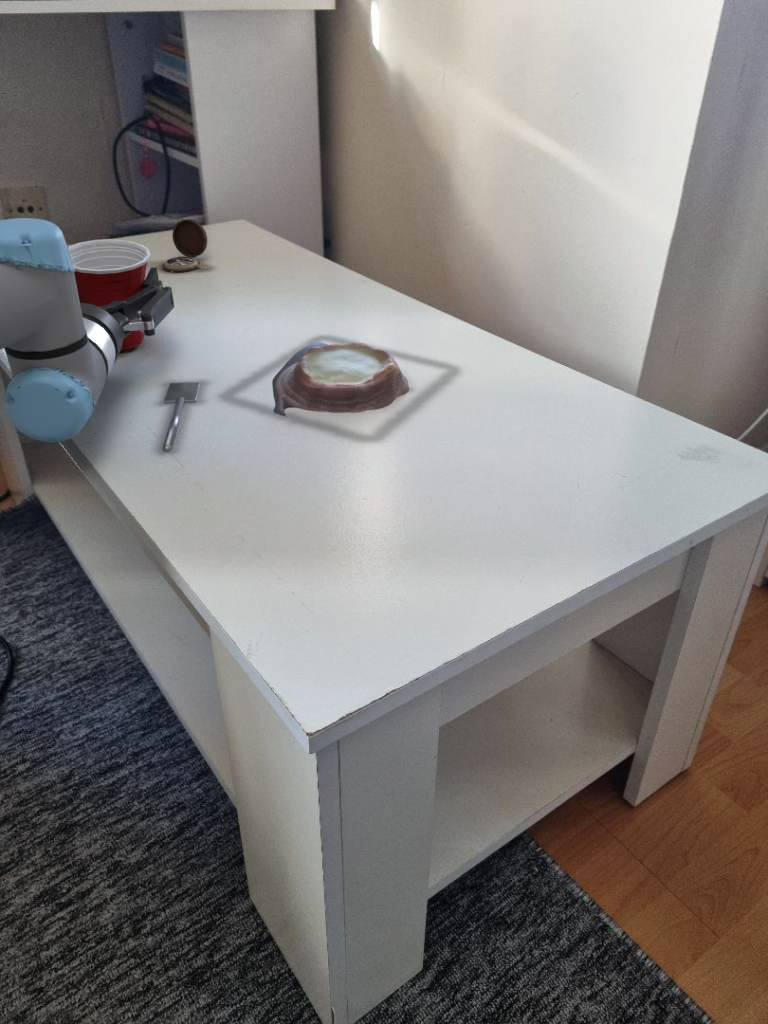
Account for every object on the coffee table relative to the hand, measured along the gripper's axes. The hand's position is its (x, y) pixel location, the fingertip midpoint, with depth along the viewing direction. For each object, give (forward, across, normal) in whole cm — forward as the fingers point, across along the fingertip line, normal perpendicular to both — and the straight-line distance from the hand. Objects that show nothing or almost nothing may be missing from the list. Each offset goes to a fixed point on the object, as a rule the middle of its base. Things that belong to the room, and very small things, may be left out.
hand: (120, 278), depth 106 cm
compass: (+28, +5, -8) cm, 30 cm away
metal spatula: (-25, +9, -8) cm, 28 cm away
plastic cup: (-5, 0, -7) cm, 9 cm away
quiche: (-18, +28, -8) cm, 35 cm away
